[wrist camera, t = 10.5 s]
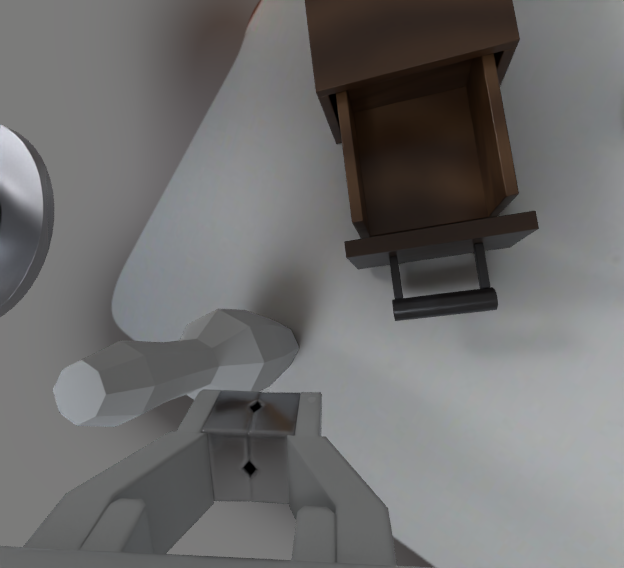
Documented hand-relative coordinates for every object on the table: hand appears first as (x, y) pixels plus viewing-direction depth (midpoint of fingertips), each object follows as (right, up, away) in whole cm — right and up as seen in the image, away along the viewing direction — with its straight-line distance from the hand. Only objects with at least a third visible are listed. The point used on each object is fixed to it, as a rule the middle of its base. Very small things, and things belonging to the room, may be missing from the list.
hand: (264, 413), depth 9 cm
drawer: (+11, +10, +23) cm, 27 cm away
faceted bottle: (-2, -3, +26) cm, 27 cm away
